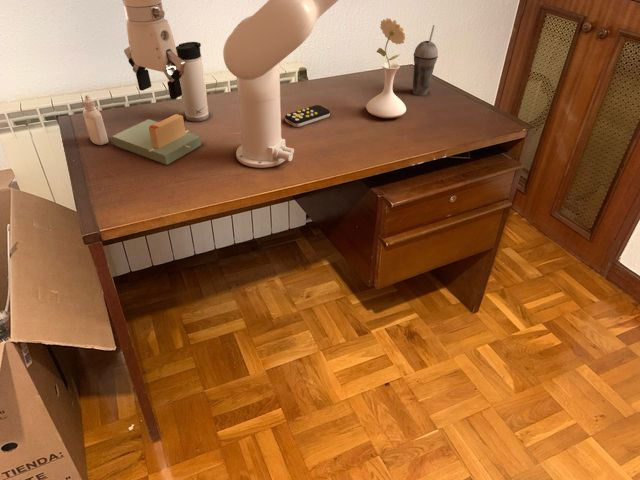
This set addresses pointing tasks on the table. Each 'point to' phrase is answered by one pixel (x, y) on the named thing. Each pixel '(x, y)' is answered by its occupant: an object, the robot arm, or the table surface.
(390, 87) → the flower in vase
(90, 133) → the eye dropper bottle
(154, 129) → the orange block
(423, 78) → the beverage cup
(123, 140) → the green flat block
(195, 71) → the travel mug
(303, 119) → the remote control
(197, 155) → the table surface
